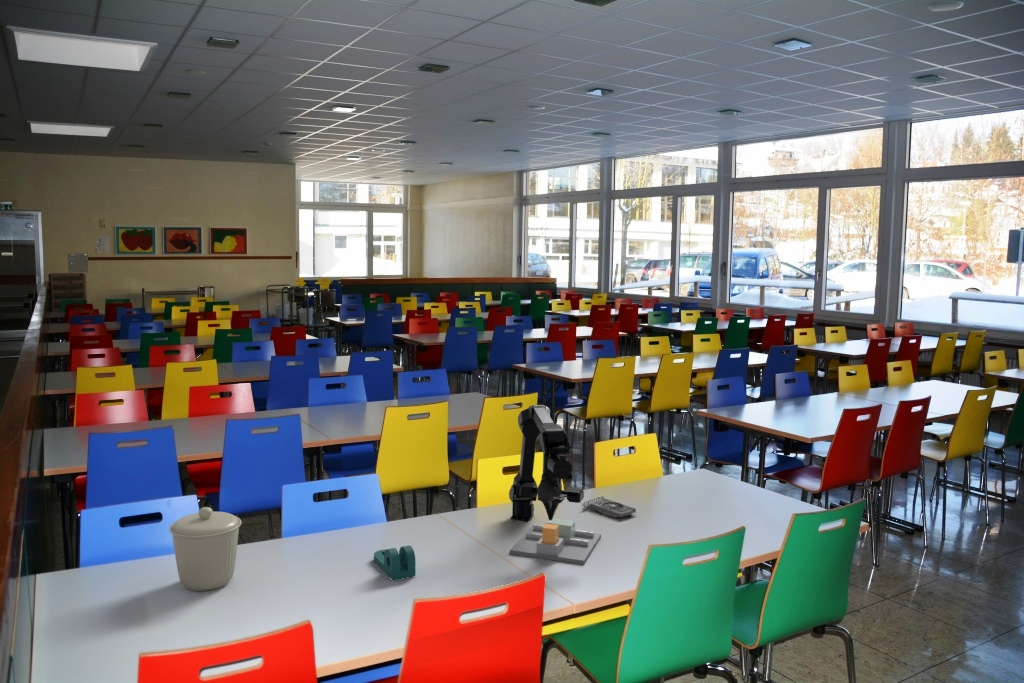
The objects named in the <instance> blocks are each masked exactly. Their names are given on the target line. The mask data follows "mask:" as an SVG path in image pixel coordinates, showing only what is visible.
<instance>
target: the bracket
mask: <svg viewBox="0 0 1024 683" xmlns="http://www.w3.org/2000/svg"><path fill="white" fill-rule="evenodd" d="M373 562H375V563H376V564H377V565H378V566H379V567H380V568H381V569H382V570H383V571H384V572H385V573H386V574H387V575H388V576H389V577H390V578H391V579H392V580H395V581H397V580H396V579H401V580H403V579H402V578H406V579H408V578H407V577H411V578H414V577H413V576H415V577H416V554H415V551H414V548H413V547H412V545H403V546H400V548H399V550H398V549H397V548H396V547H392V548H387V549H379V550H377V551H375V552H373ZM375 563H374V564H375ZM376 564H375V565H376ZM377 565H376V566H377ZM379 567H378V568H379ZM380 568H379V569H380ZM381 569H380V570H381ZM382 570H381V571H382ZM383 571H382V572H383ZM384 572H383V573H384ZM385 573H384V574H385ZM386 574H385V575H386ZM387 575H386V576H387ZM388 576H387V577H388ZM389 577H388V578H389ZM390 578H389V579H390ZM391 579H390V580H391ZM392 580H391V581H392Z"/></svg>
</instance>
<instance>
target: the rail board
mask: <svg viewBox="0 0 1024 683" xmlns="http://www.w3.org/2000/svg"><path fill="white" fill-rule="evenodd" d="M544 526H545V525H544V524H535V523H534V524H532V525H531V526H529V528H528V529H527V530H526V531H525V533H524V534H523V535H521V537H520V538H519V539H518V540H517V541H516V542H515V543H514V544H513V546H512V547H511V548H510V549H509V555H516V556H524V557H530V558H536V559H537V558H538V559H544V560H551V561H558V562H565V563H571V564H577V565H585V563H586V562H587V560H588V559H589V558H590V556H591V554H592V553H593V551H594V549H595V548H596V547H597V545H598V543H599V542H600V539H601V538H602V533H598V532H595V531H588V530H581V529H575V537H574V538H565V537H559V538H558V542H557V543H556V545H555V544H548V543H542V528H543V527H544Z"/></svg>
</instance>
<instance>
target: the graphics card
mask: <svg viewBox="0 0 1024 683" xmlns="http://www.w3.org/2000/svg"><path fill="white" fill-rule="evenodd" d="M581 507H582V508H581V511H582V510H583V511H585V509H586V510H587V509H589V510H591V511H592V510H593V512H594V511H595V513H596V511H597V512H598V511H599V512H598V513H600V512H601V513H600V514H603V513H604V514H603V515H606V514H607V516H609V515H610V516H609V517H612V516H613V517H612V518H615V519H616V517H617V518H624V517H629V516H630V515H632V514H634V513H637V509H636V508H635V507H632V506H630V505H626V504H624V503H620V502H617V501H614V500H611V499H609V498H605V496H604V495H601V496H598V497H596V498H591V499H589V500H586V501H583V502H582V504H581ZM591 508H592V509H591ZM594 509H595V510H594Z"/></svg>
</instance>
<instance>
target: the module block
mask: <svg viewBox="0 0 1024 683" xmlns="http://www.w3.org/2000/svg"><path fill="white" fill-rule="evenodd" d="M545 524H553V525H559V537H565V538H574V537H575V530H576V527H575V526H576V521H575V520H570V519H560V518H554V517H553V520H549V519H548V520H547V522H546V523H545Z"/></svg>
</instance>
